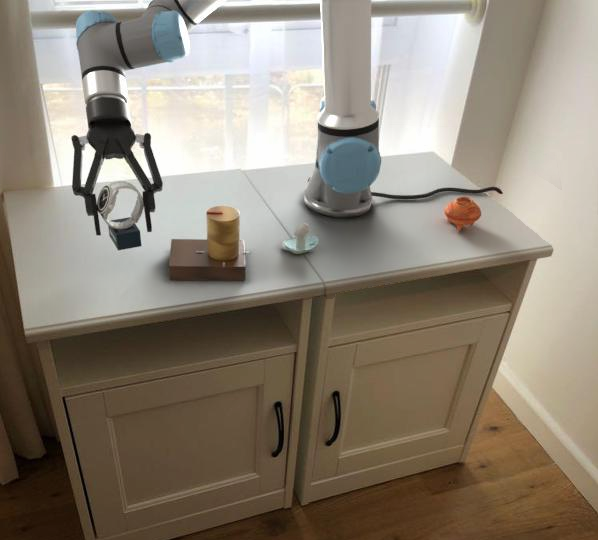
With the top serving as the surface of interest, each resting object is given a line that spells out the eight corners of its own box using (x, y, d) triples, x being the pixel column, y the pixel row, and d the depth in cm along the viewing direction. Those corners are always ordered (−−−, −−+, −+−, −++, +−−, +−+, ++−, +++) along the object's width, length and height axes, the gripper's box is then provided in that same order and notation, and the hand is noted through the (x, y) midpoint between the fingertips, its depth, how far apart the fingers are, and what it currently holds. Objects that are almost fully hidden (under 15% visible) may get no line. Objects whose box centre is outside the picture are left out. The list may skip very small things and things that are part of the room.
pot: (480, 236, 143) (481, 207, 138) (443, 238, 145) (442, 209, 140) (481, 218, 148) (481, 189, 144) (445, 220, 151) (444, 192, 146)
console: (249, 253, 132) (249, 238, 130) (251, 281, 124) (251, 266, 122) (172, 252, 130) (171, 237, 128) (169, 280, 122) (168, 265, 120)
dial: (239, 244, 128) (239, 204, 122) (239, 260, 123) (240, 220, 118) (207, 244, 127) (206, 203, 122) (207, 260, 123) (206, 219, 117)
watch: (99, 238, 122) (90, 181, 115) (141, 230, 125) (135, 174, 118) (107, 252, 119) (99, 194, 111) (151, 244, 122) (145, 187, 114)
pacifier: (275, 246, 135) (289, 259, 131) (275, 217, 131) (290, 230, 127) (306, 239, 138) (320, 252, 134) (307, 211, 133) (323, 223, 130)
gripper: (166, 113, 124) (182, 233, 123) (48, 116, 119) (64, 241, 118) (167, 93, 116) (185, 221, 116) (42, 95, 111) (59, 229, 111)
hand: (124, 231), depth 117 cm, fingers closed on watch, 8 cm apart
